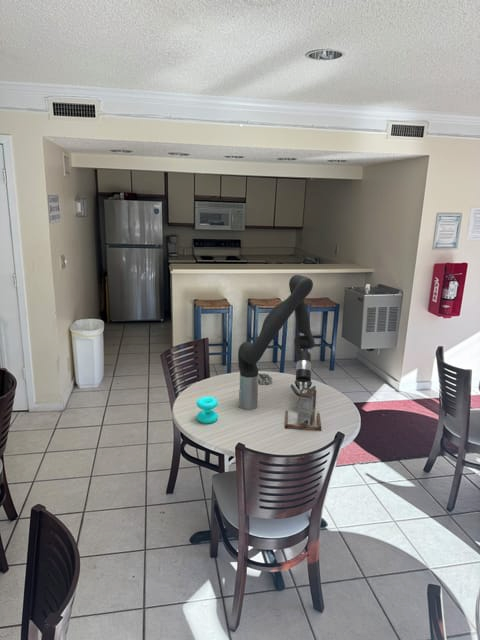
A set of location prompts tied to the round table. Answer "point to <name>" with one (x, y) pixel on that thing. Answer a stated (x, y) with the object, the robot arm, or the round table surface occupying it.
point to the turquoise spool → (207, 410)
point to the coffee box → (306, 406)
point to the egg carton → (264, 379)
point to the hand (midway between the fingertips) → (302, 403)
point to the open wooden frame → (303, 427)
